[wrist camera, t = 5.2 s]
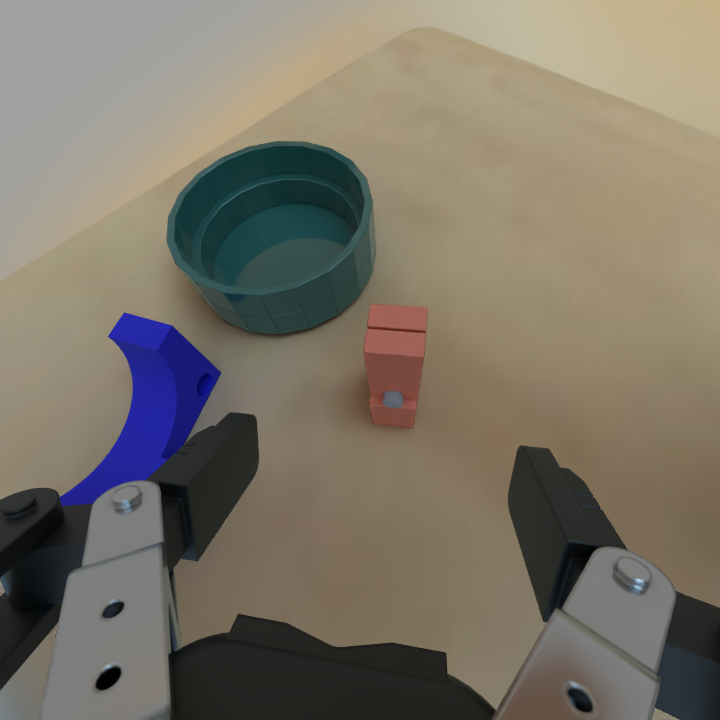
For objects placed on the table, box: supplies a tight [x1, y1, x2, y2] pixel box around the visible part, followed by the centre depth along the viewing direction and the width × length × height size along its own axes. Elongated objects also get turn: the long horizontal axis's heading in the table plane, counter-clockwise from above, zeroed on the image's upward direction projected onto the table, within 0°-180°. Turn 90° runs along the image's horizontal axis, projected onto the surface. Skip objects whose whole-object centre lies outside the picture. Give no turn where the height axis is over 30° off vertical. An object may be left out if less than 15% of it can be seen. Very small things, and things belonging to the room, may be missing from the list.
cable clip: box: [60, 313, 221, 506], centre depth 20 cm, size 12×4×6 cm, turn 162°
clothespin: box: [363, 304, 428, 428], centre depth 19 cm, size 2×3×8 cm
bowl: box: [167, 141, 376, 334], centre depth 26 cm, size 13×13×5 cm
